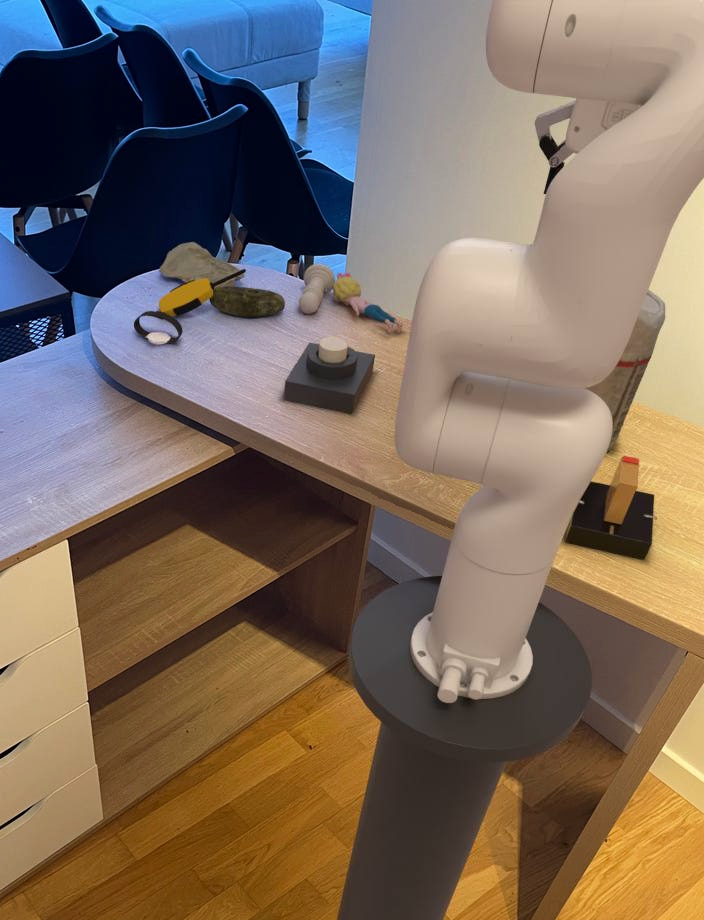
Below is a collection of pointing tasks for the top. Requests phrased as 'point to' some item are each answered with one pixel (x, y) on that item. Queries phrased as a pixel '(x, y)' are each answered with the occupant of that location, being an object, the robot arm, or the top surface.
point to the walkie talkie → (190, 295)
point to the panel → (612, 524)
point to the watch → (158, 336)
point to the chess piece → (316, 287)
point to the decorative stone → (247, 301)
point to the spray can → (631, 363)
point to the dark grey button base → (329, 380)
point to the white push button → (333, 349)
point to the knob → (621, 490)
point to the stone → (197, 265)
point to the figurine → (360, 301)
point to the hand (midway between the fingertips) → (594, 207)
